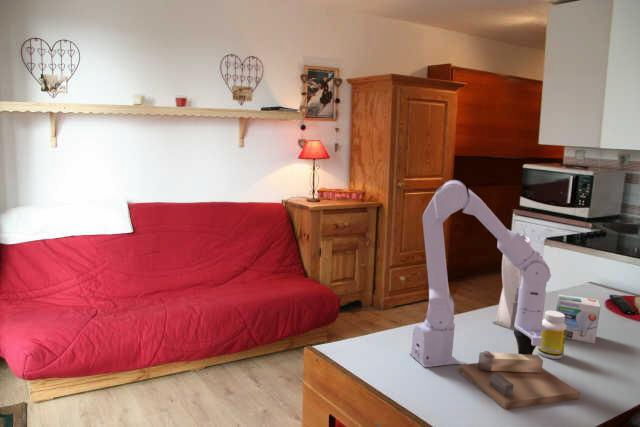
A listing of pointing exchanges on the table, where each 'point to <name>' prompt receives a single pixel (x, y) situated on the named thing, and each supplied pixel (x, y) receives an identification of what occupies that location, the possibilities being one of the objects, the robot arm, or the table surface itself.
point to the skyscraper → (509, 294)
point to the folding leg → (510, 362)
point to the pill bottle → (553, 335)
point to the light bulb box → (579, 317)
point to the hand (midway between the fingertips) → (524, 362)
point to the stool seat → (519, 386)
